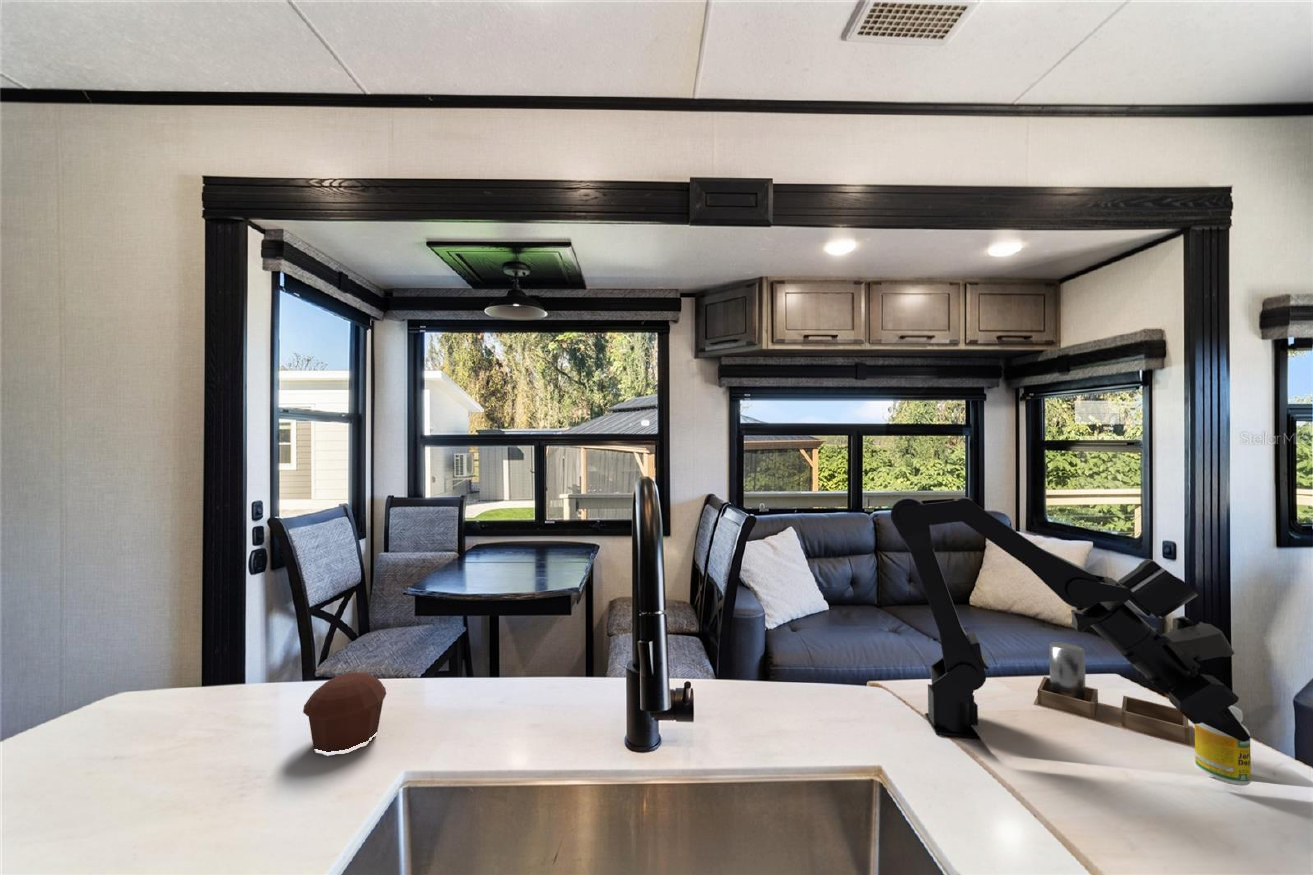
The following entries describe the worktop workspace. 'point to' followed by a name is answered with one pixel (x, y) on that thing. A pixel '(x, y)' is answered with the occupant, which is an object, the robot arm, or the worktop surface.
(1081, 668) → the graphite billet
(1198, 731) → the supplement bottle
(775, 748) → the worktop surface
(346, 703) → the muffin
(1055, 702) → the wooden compartment tray
